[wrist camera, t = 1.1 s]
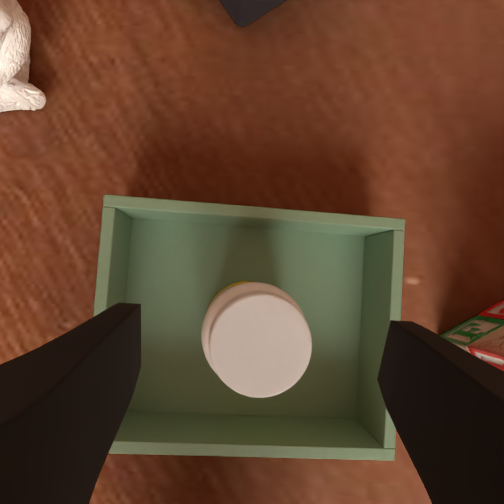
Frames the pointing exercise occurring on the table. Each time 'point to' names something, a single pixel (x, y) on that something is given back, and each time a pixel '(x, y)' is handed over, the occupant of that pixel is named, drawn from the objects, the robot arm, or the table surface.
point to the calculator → (248, 9)
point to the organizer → (266, 271)
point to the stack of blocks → (482, 335)
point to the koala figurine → (16, 60)
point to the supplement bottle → (256, 338)
